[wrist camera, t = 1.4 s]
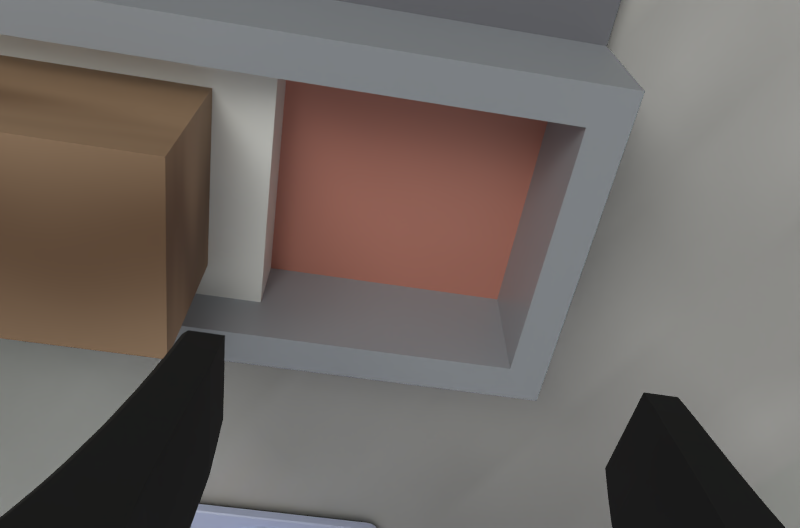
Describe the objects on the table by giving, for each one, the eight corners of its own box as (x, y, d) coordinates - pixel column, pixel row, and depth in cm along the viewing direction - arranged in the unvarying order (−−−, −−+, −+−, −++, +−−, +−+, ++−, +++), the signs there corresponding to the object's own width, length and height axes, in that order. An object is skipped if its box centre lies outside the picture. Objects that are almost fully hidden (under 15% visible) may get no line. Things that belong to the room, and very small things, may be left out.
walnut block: (207, 265, 20) (167, 359, 16) (-20, 233, 19) (-110, 324, 16) (212, 88, 17) (165, 156, 14) (-51, 46, 17) (-167, 107, 13)
